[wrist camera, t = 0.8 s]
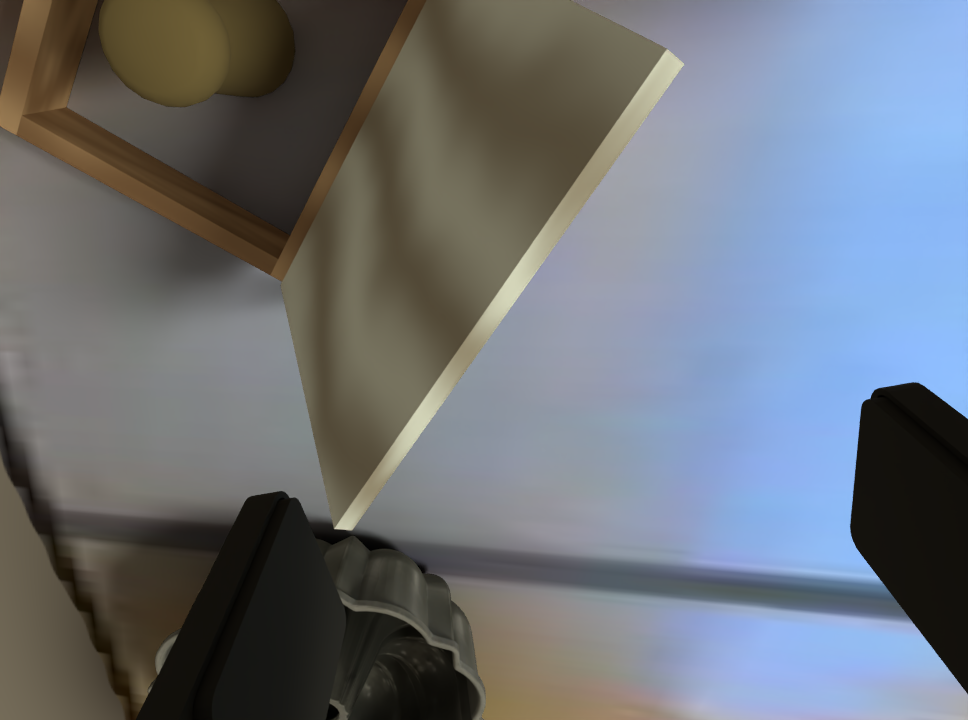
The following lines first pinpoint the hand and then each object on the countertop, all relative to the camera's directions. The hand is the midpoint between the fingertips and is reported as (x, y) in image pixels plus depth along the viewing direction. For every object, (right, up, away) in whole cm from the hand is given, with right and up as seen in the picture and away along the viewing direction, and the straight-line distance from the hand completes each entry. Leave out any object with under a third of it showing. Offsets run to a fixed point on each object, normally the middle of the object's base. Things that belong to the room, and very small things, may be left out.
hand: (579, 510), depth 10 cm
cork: (-15, +21, +25) cm, 36 cm away
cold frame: (-12, +19, +26) cm, 34 cm away
